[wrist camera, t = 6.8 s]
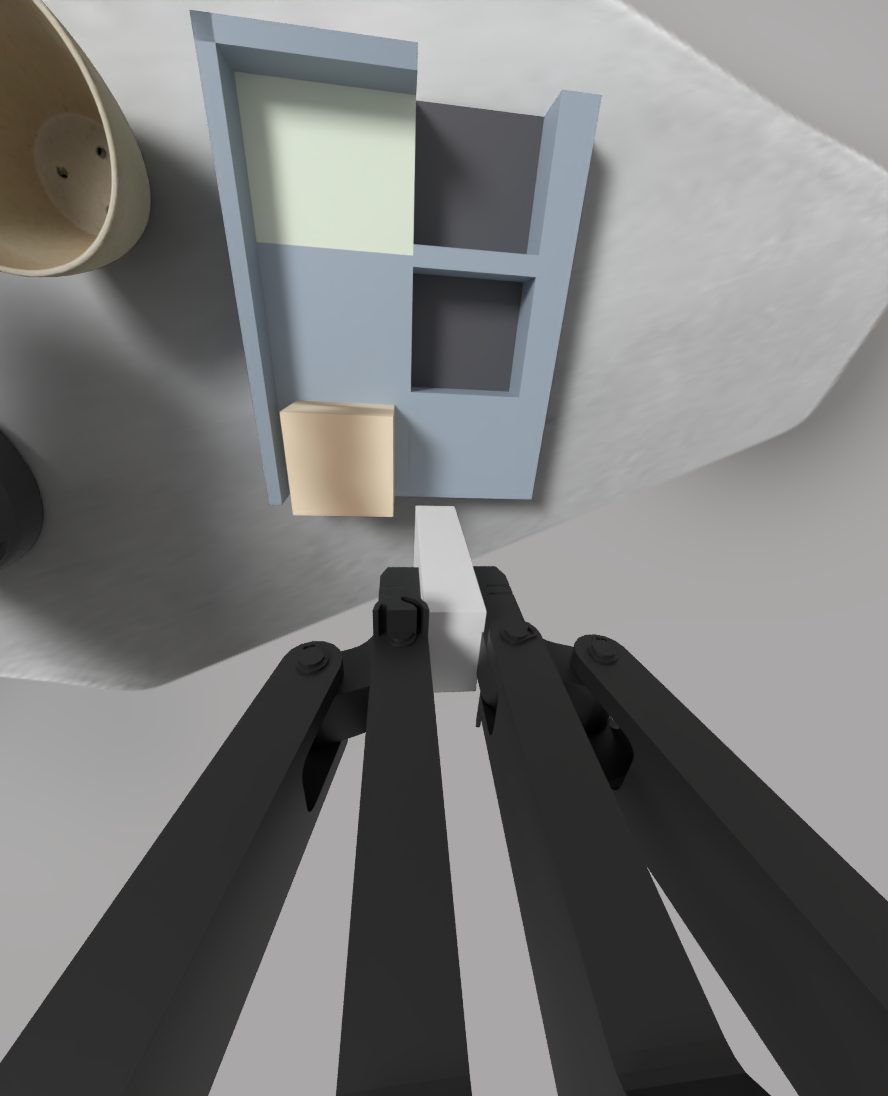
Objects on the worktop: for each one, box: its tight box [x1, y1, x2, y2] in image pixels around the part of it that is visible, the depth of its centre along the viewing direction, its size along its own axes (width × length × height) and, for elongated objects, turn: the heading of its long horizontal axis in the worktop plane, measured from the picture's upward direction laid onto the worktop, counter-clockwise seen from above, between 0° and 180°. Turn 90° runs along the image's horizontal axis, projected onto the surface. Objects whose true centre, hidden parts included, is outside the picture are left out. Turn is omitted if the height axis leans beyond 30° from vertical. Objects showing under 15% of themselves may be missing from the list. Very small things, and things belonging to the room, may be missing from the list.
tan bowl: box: [0, 0, 151, 277], centre depth 18 cm, size 10×10×7 cm
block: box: [280, 400, 394, 517], centre depth 25 cm, size 6×6×4 cm
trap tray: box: [190, 10, 602, 505], centre depth 24 cm, size 18×21×5 cm
